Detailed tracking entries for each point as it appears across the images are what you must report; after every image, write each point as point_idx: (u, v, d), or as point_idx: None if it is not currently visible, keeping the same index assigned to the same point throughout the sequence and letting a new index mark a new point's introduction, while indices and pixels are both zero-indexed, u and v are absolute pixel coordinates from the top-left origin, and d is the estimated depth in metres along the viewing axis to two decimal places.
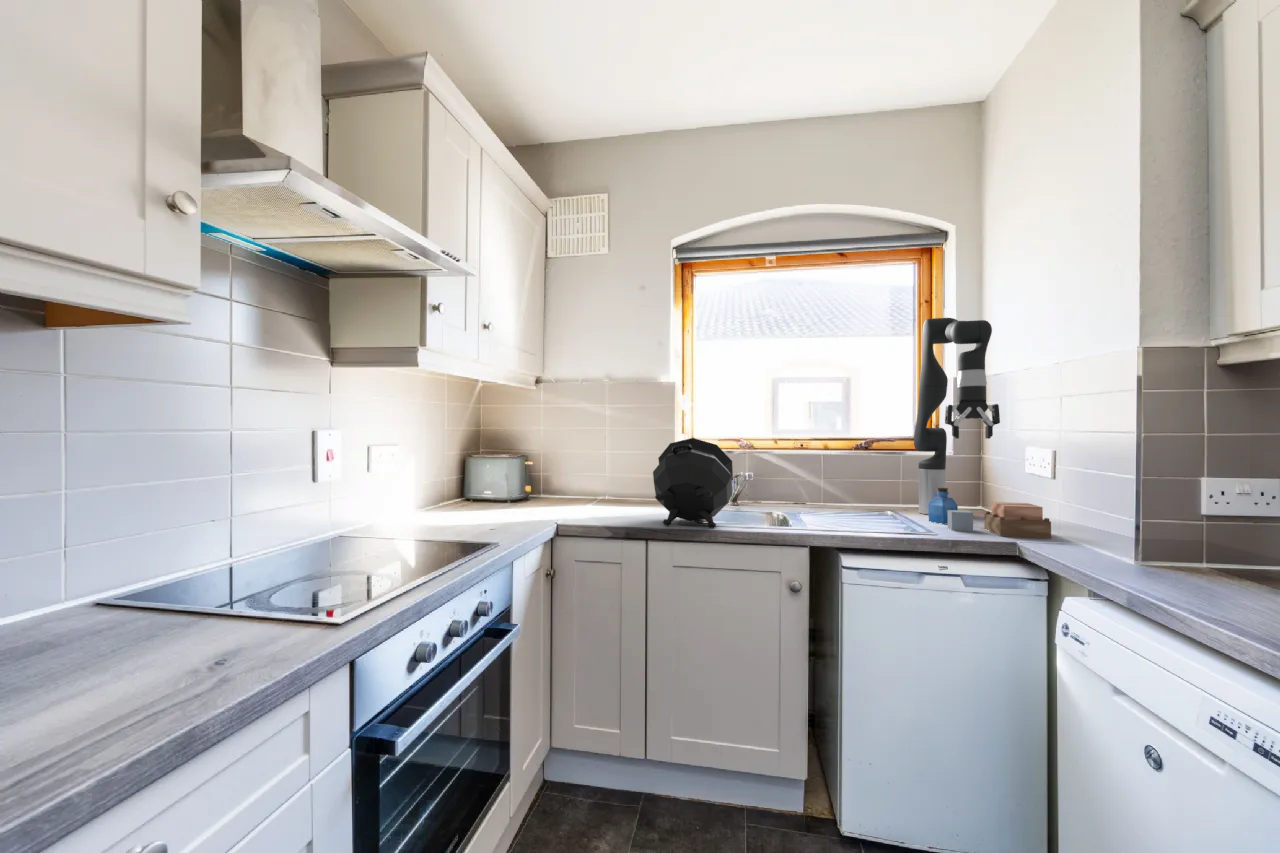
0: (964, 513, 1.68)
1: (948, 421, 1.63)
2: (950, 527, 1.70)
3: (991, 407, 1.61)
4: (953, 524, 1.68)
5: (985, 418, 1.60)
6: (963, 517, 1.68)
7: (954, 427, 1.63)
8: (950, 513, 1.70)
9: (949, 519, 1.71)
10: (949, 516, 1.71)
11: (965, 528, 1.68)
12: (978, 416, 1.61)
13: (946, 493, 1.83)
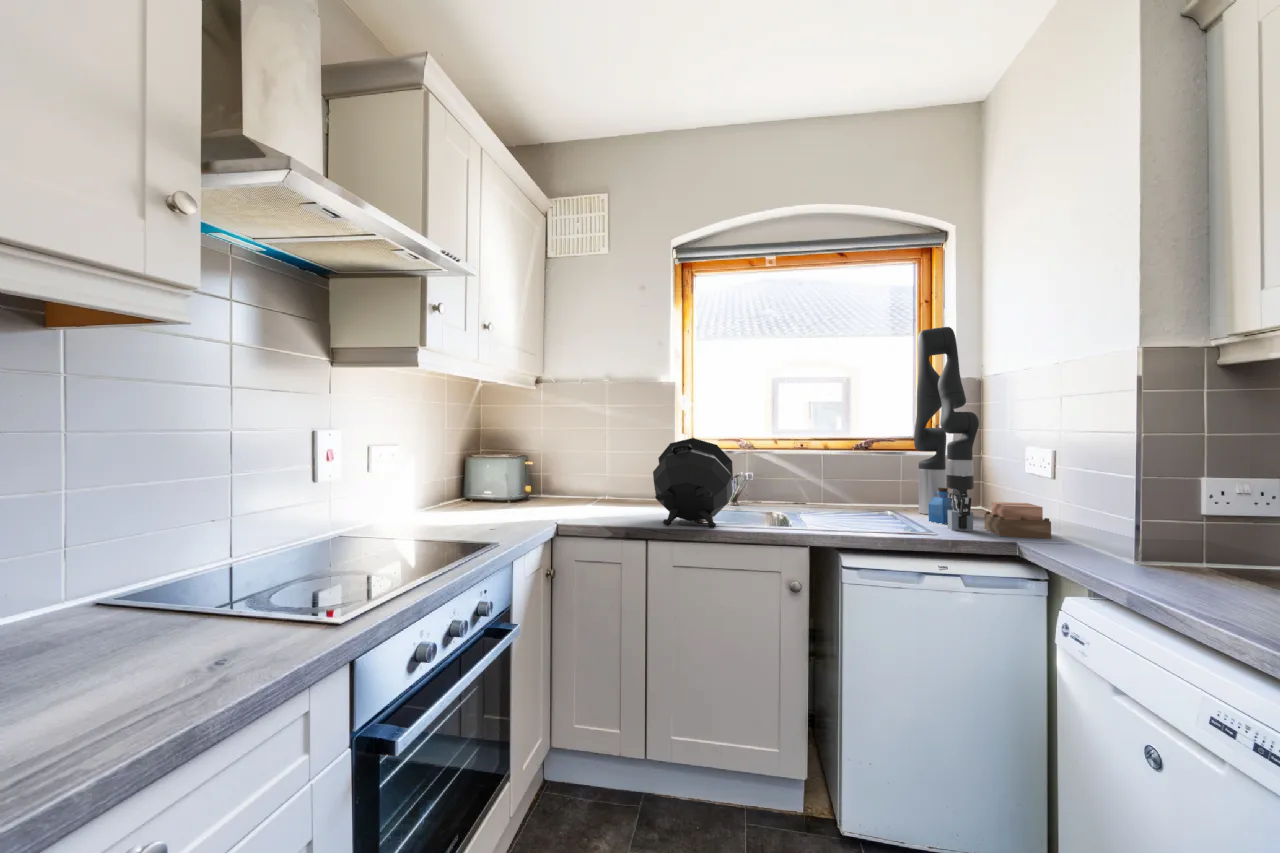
0: None
1: (969, 513, 1.65)
2: (950, 527, 1.70)
3: None
4: (953, 524, 1.68)
5: None
6: None
7: None
8: (950, 513, 1.70)
9: (949, 519, 1.71)
10: (949, 516, 1.71)
11: None
12: None
13: (946, 493, 1.83)
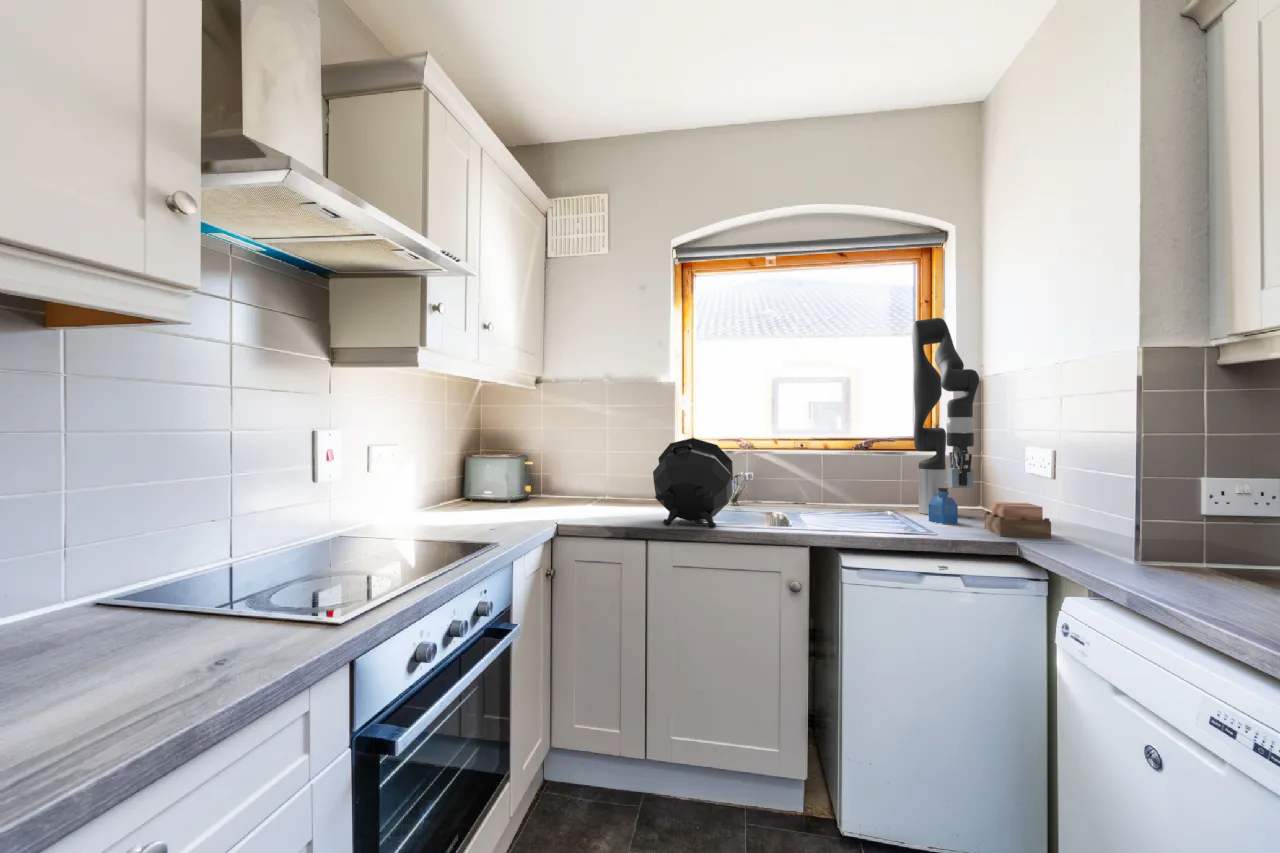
0: None
1: (970, 470, 1.65)
2: (950, 484, 1.70)
3: None
4: (953, 481, 1.69)
5: None
6: None
7: None
8: (950, 470, 1.70)
9: (949, 477, 1.71)
10: (949, 474, 1.71)
11: None
12: None
13: (946, 493, 1.83)
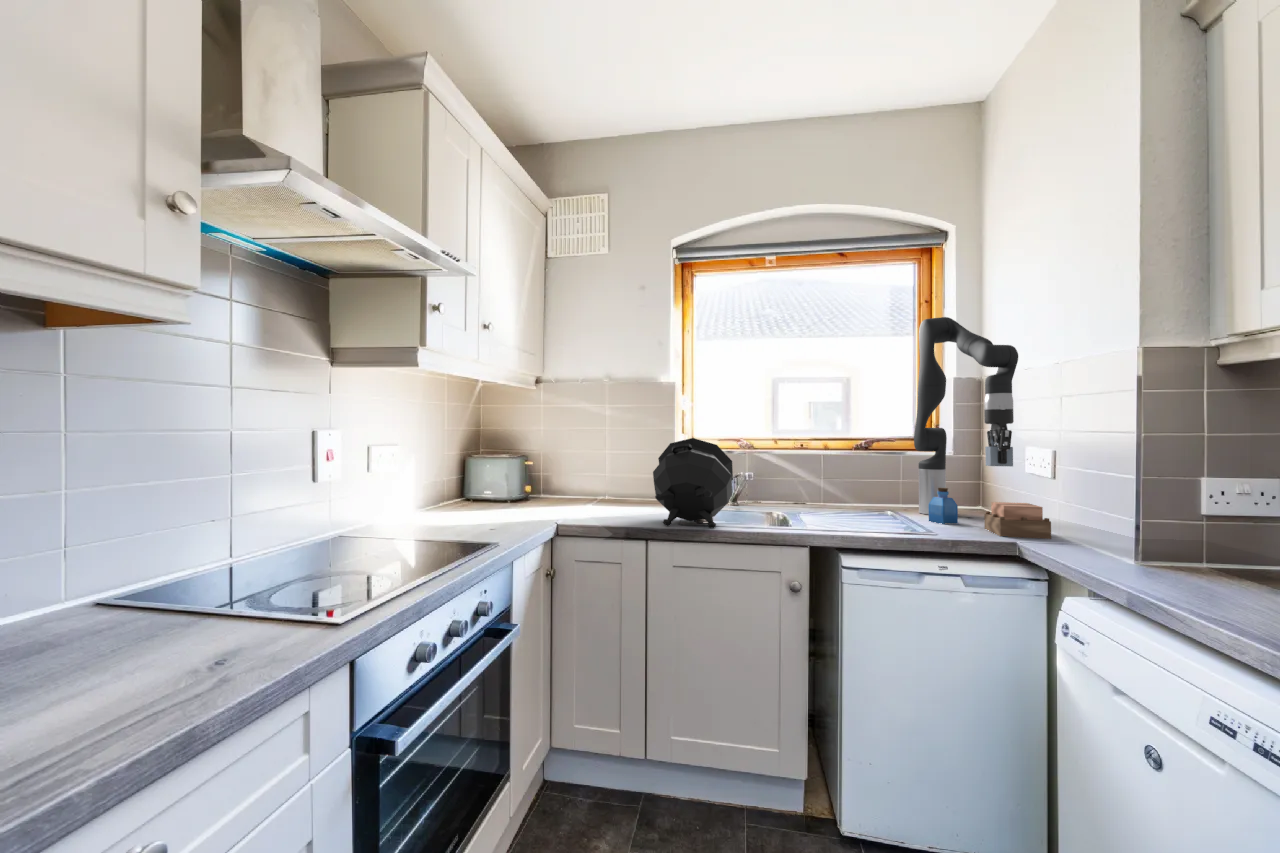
0: None
1: (1009, 447, 1.60)
2: (988, 463, 1.65)
3: None
4: (992, 459, 1.64)
5: None
6: None
7: None
8: (988, 448, 1.65)
9: (987, 455, 1.66)
10: (987, 452, 1.66)
11: None
12: None
13: (946, 493, 1.83)
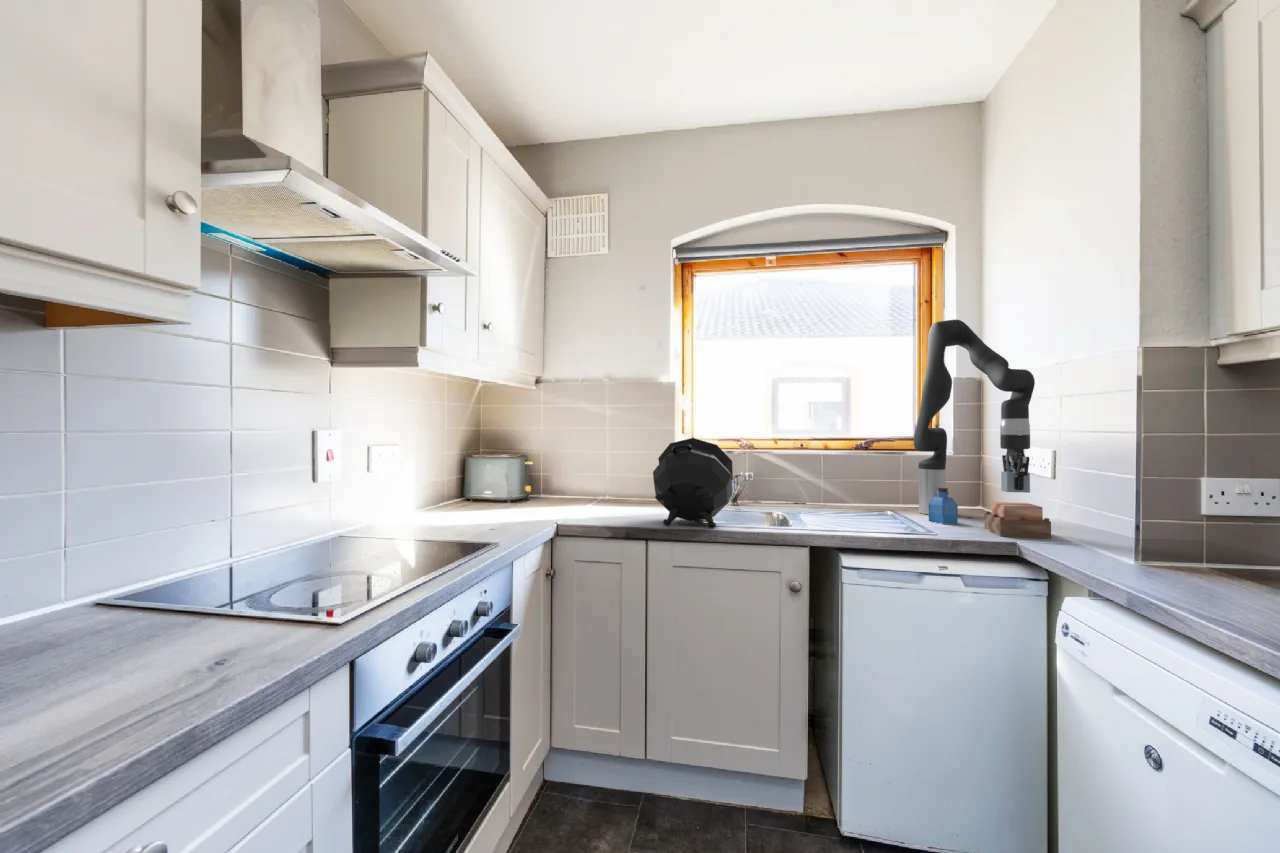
0: None
1: None
2: (1005, 488, 1.64)
3: None
4: (1008, 485, 1.62)
5: None
6: None
7: None
8: (1005, 474, 1.64)
9: (1003, 480, 1.65)
10: (1003, 477, 1.65)
11: None
12: None
13: (946, 493, 1.83)
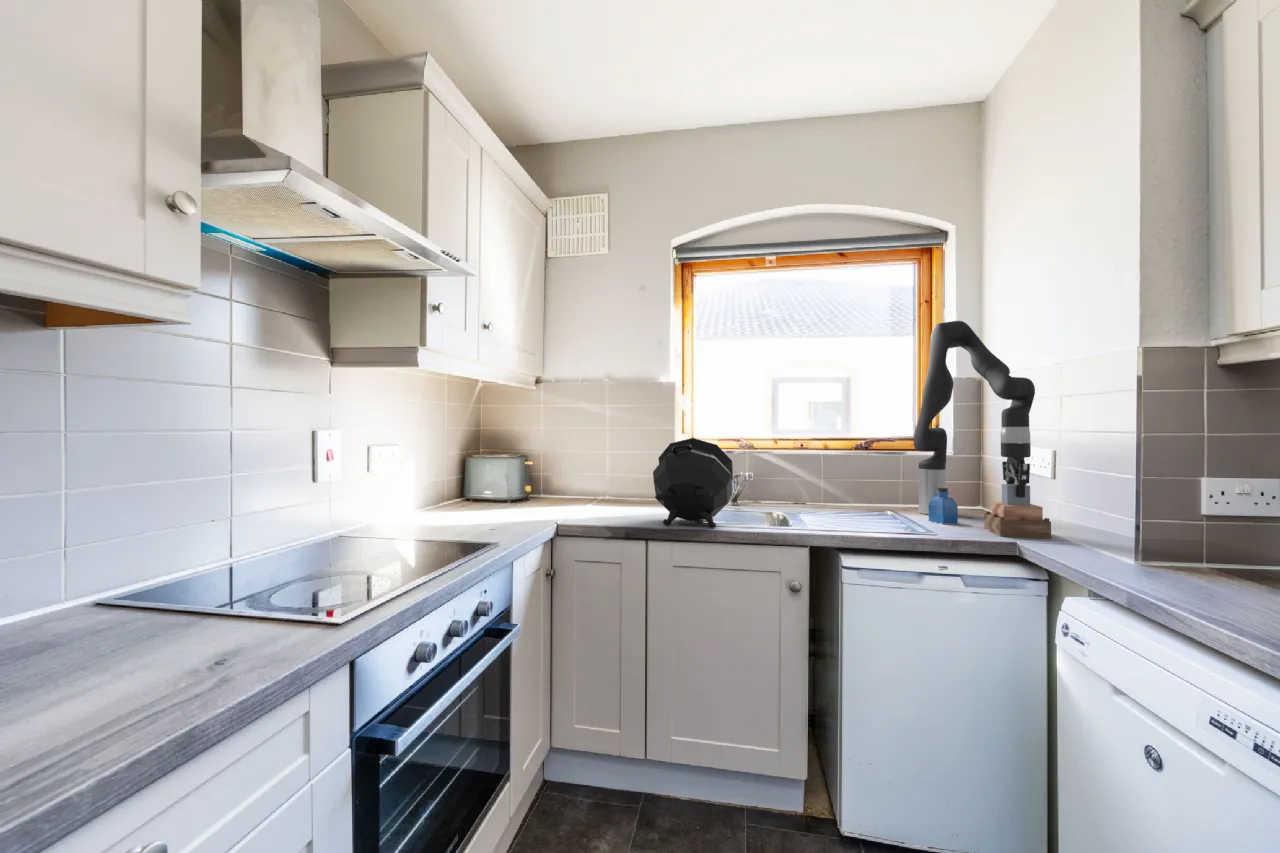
0: None
1: (1028, 481, 1.58)
2: (1005, 501, 1.64)
3: None
4: (1009, 498, 1.62)
5: None
6: None
7: None
8: (1005, 487, 1.64)
9: (1004, 493, 1.65)
10: (1004, 490, 1.65)
11: (1021, 501, 1.61)
12: None
13: (946, 493, 1.83)
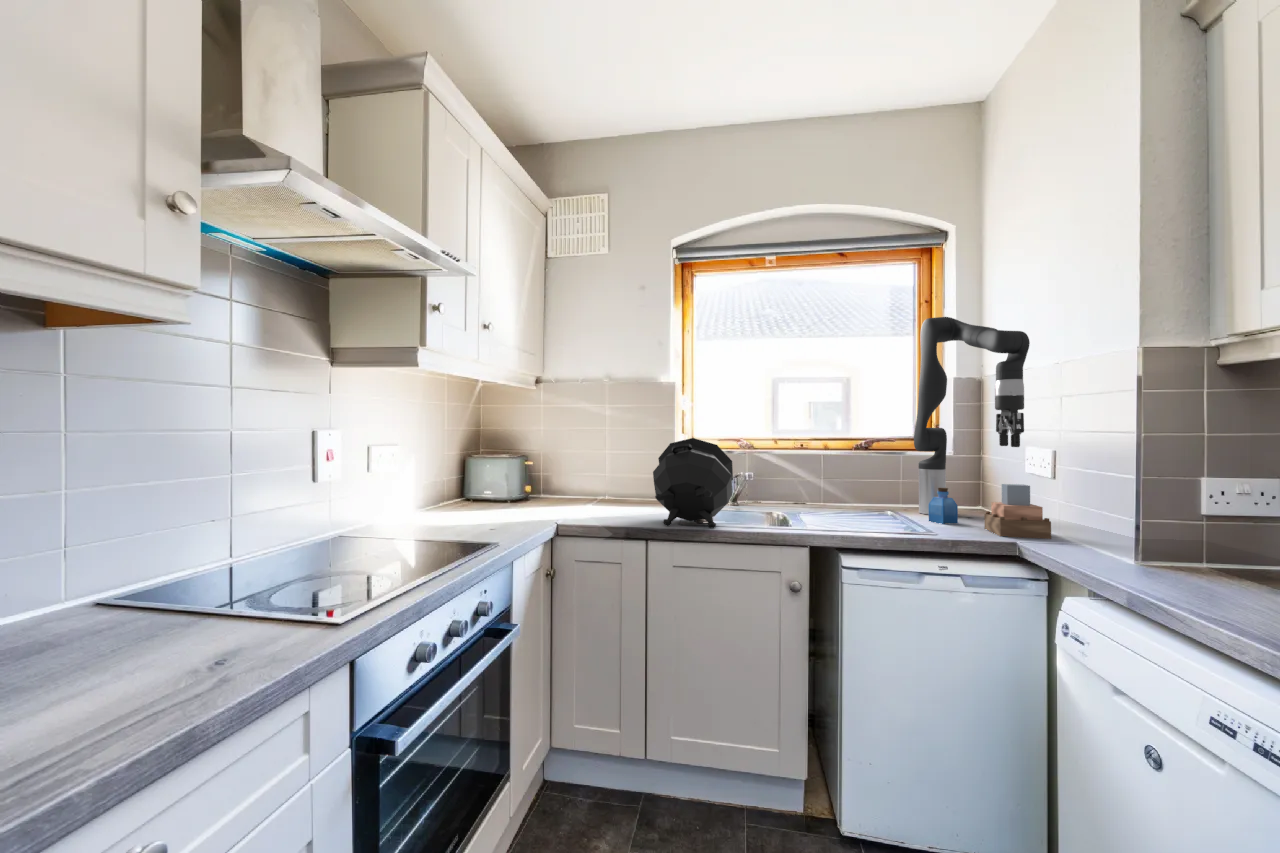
0: (1020, 487, 1.61)
1: (1023, 429, 1.59)
2: (1005, 501, 1.64)
3: None
4: (1009, 498, 1.62)
5: None
6: (1019, 490, 1.61)
7: None
8: (1005, 487, 1.64)
9: (1004, 493, 1.65)
10: (1004, 490, 1.65)
11: (1021, 501, 1.61)
12: None
13: (946, 493, 1.83)
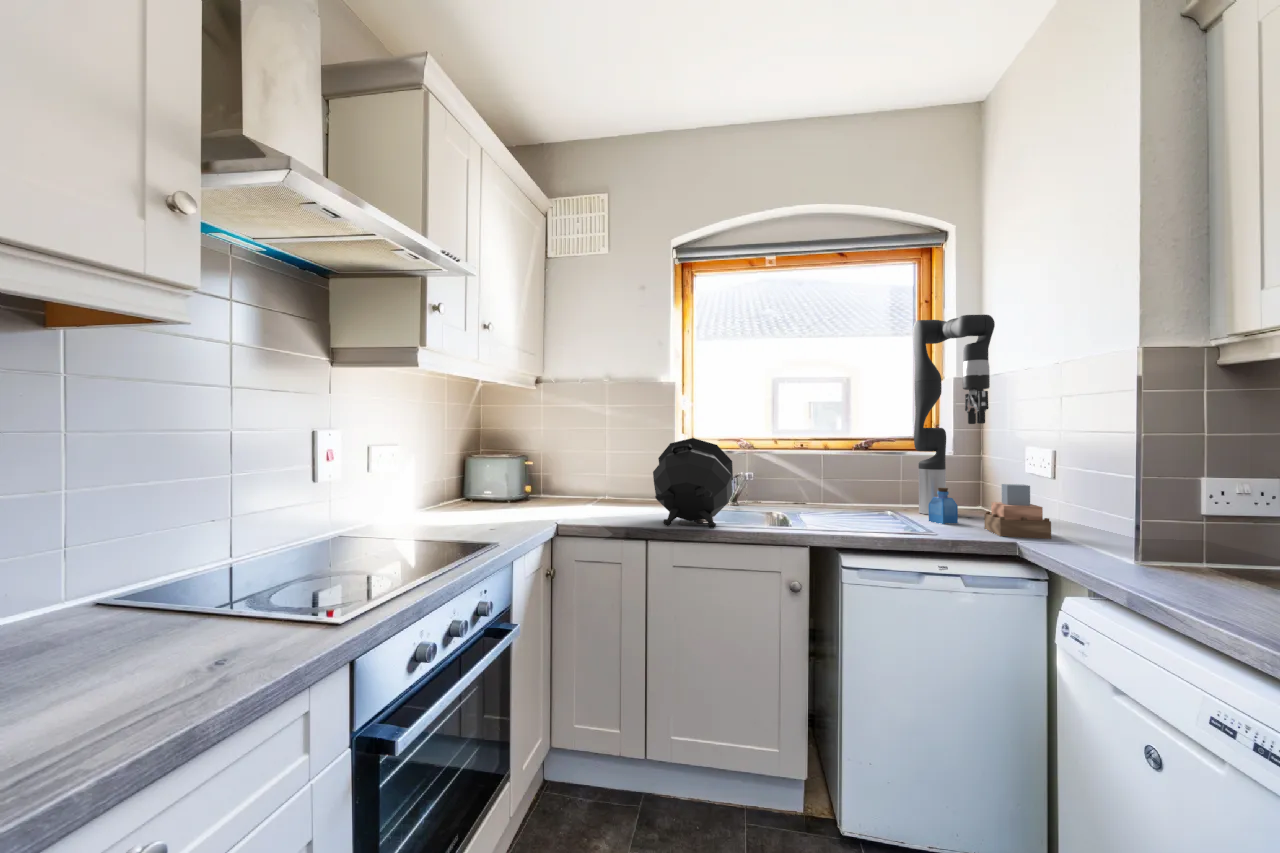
0: (1020, 487, 1.61)
1: None
2: (1005, 501, 1.64)
3: None
4: (1009, 498, 1.62)
5: None
6: (1019, 490, 1.61)
7: None
8: (1005, 487, 1.64)
9: (1004, 493, 1.65)
10: (1004, 490, 1.65)
11: (1021, 501, 1.61)
12: None
13: (946, 493, 1.83)
